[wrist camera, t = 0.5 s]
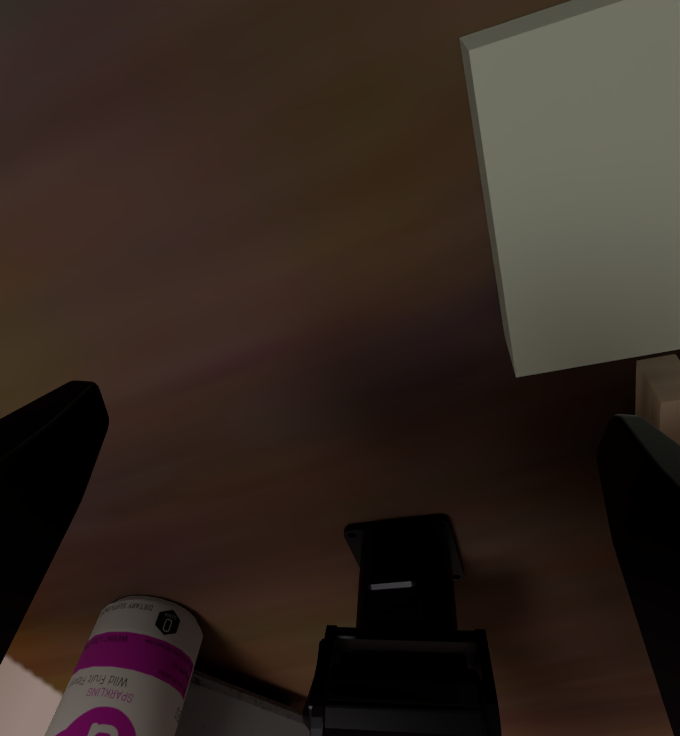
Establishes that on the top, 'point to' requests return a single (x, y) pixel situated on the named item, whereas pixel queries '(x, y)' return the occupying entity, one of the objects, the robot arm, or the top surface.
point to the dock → (581, 178)
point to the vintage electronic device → (236, 711)
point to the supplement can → (131, 672)
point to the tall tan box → (659, 393)
